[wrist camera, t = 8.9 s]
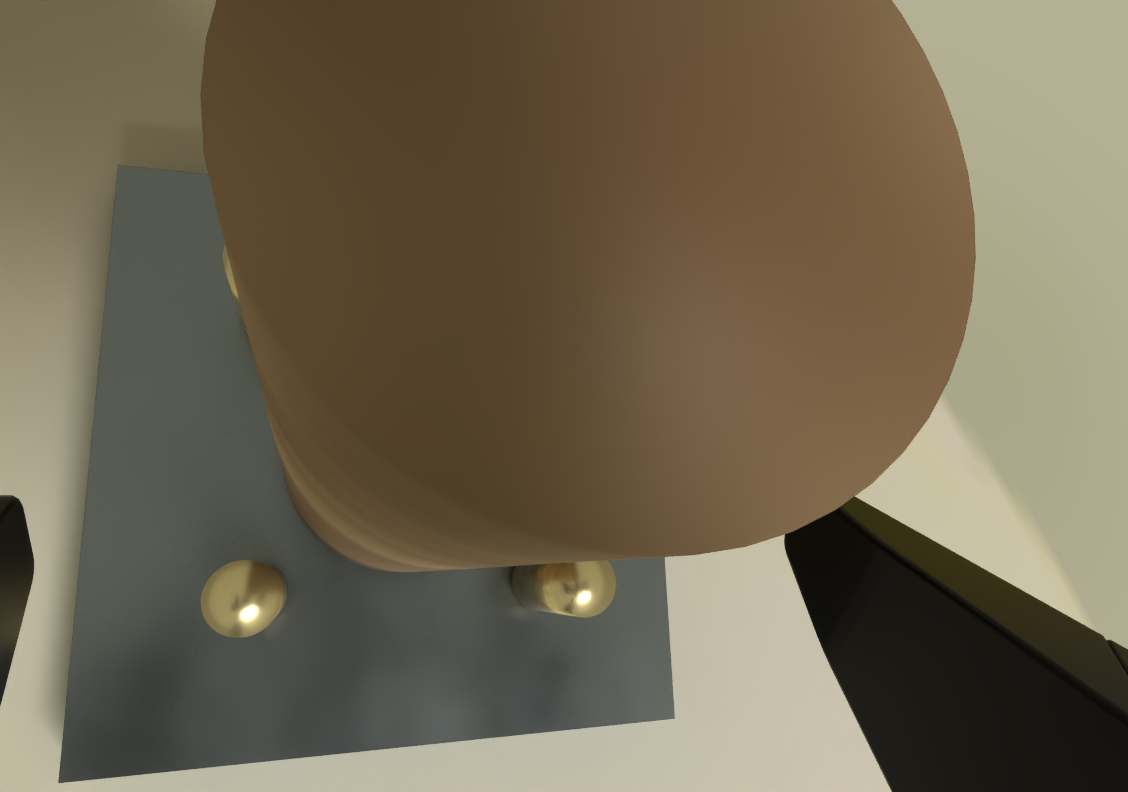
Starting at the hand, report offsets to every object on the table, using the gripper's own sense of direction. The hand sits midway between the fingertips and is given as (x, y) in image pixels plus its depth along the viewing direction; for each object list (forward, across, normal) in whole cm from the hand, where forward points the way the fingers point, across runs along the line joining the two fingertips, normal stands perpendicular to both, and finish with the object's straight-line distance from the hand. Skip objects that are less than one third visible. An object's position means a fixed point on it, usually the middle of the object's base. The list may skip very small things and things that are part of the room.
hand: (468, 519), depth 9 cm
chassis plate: (+8, 0, +5) cm, 9 cm away
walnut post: (+7, 0, +4) cm, 8 cm away
